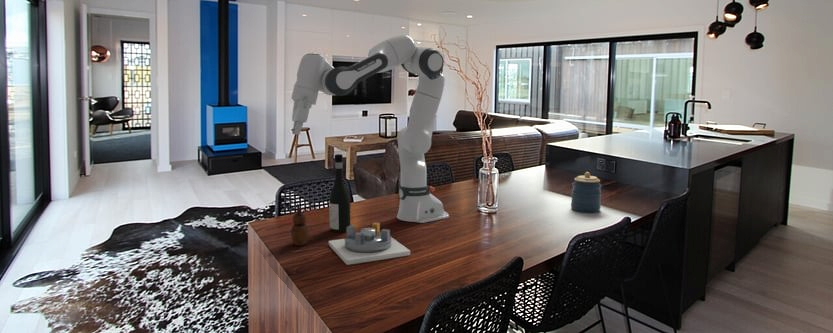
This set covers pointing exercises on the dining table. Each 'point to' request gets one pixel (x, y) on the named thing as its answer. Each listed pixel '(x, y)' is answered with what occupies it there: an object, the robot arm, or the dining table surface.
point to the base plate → (357, 257)
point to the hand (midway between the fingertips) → (295, 134)
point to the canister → (586, 194)
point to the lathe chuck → (367, 239)
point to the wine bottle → (339, 201)
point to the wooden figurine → (299, 228)
